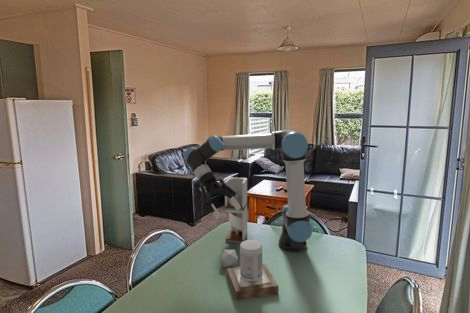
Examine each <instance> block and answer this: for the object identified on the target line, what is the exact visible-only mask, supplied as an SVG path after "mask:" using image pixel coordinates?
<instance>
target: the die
mask: <svg viewBox="0 0 470 313" xmlns="http://www.w3.org/2000/svg"><path fill="white" fill-rule="evenodd" d="M220 260H221V263H222V264H223V267H224V268H235V267H236V266H237V263H238V261H239V257H238V254H237V251H236V250H235V249H224V251H223V252H222V255H221V259H220Z"/></svg>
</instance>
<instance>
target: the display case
mask: <svg viewBox="0 0 470 313" xmlns="http://www.w3.org/2000/svg"><path fill="white" fill-rule="evenodd" d="M224 183H225V184H226V185H227V186H228V187H230V188H231V189H232V190H233V191H235V192H236V195H235V198H236V199H237V201H238V204H239V205H240V207H241V208H240V209H239V210H238V211H237V210H236V209H235V207H234V206H233V204H232V203H231V201H230V198H229V197H227V196H225V195H224V213H228V222H229V224H230V225H231V228H230V229H231V230H229V231H228V233H227V235H226V237H225V243H232V244H233V243H235V244H241V243H242V242H243V241H246V239H247V237H248V178H247V177H231V176H230V177H228V178H227V179H226V180H225V181H224ZM230 196H231V195H230Z"/></svg>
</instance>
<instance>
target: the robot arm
mask: <svg viewBox="0 0 470 313" xmlns="http://www.w3.org/2000/svg"><path fill="white" fill-rule="evenodd" d="M308 148H309V143H308V140H307V137H306V136H305V134H303V133H301V132H299V131H297V130H295V129H284V130H283V129H282V130H278V131H277V130H274V131H272V132H270V133H261V134H259V133H258V134H257V133H256V134H255V133H254V134H240V135H239V134H238V135H221V136H219V135H218V136H217V135H216V134H214V135H211V136H209V137H207V139H206V140H205V141H204V142H203V143H202V144H201V145H200V146H199V147H195V146H192V147H191V146H190V147H189V148H187V149H186V150H184V152H183V158H184V160H185V161H186V162H185V163H187V165H188V167H189V168H190V169H191V171H192V172H193V174H194V176H195V177H196V179H197V180H198V182H199V184H200V187H199V188H198V191H199V193H200V200H201V207H202V208H205V209H208V211H209V212H210V213H211V214H212V215H213V216H214V218H215V220H218V219H219V218H221V215H220V213H219V211H218V210H217V208H216V206H215V205H214V203H212V196H213V194H216V193H218V194H221V195H223V196H224V197H225V196H227V197H229V198H230V201H231V203H232V204H233V206H234V207H235V209H236V210H237V211H238V210H239V209H240V208H241V207H240V205H239V204H238V201H237V199H236V198H235V195H236V192H235V191H233V190H232V189H231V188H230V187H228V186H227V185H226V184H225V181H223V180H222V179H220V180H219V181H217V180H216V179H217V177H216V176H215V174H214V173H213V172H212V170H211V168H210V167H209V165H208V164H207V161H208V160H209V159H211V158H212V157H214V156H215V155H217V153H219V152H222V151H223V152H224V151H241V150H260V149H261V150H262V149H271V150H273V151H281V152H280V153H281V161H283V163H284V165H285V180H286V191H287V193H286V194H287V204H284V205H283V206H282V210H281V212H282V214H281V215H282V218H281V219H282V225H281V228H282V229H281V233H280V236H279V240H278V246H279V248H281V249H282V250H284V251H287V252H293V253H294V252H302V251H304V250H306V249H307V244H308V243H307V241H308V240H309V239H310V238H311V236H312V234H313V226H312V224H311V220H310V219H311V218H310V211H309V210H308V209H307V204H306V201H307V200H306V188H305V186H306V184H305V170H304V169H305V168H304V165H305V164H304V162H305V161H306V160H307V151H308ZM230 195H231V196H230Z"/></svg>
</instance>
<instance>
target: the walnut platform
mask: <svg viewBox="0 0 470 313" xmlns="http://www.w3.org/2000/svg"><path fill="white" fill-rule="evenodd" d="M226 268H227V269H226V274H227V276H226V277H227V279H228V283H229V285H230V289H231V291H232V293H233V296H234V299H235V301H244V300H251V299H258V298H265V297H271V296H277V295H279V284H278V282H277V280H276V279H275V277H274V276H273V274H272V273H271V271H270V269H269V268H268V266H267V264H266V263H262V277H261V278H260V279H259V280H257V281H246V280H244V279H243V278H242V277H241V275H240V266H237V267H236V266H235V267H226Z"/></svg>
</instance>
